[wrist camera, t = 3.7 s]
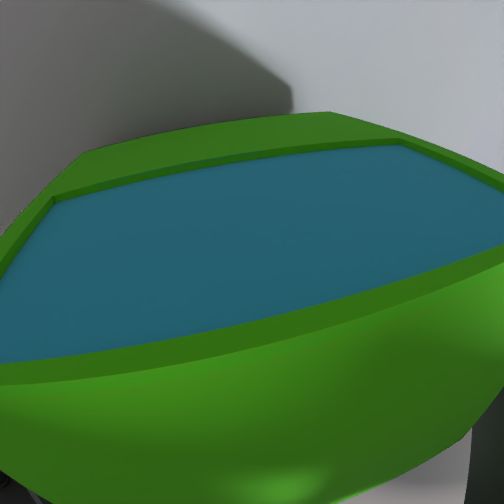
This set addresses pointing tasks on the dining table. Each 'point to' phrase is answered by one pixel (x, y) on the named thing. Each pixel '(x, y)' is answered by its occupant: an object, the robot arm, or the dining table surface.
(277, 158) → the toy car
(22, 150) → the dining table surface
